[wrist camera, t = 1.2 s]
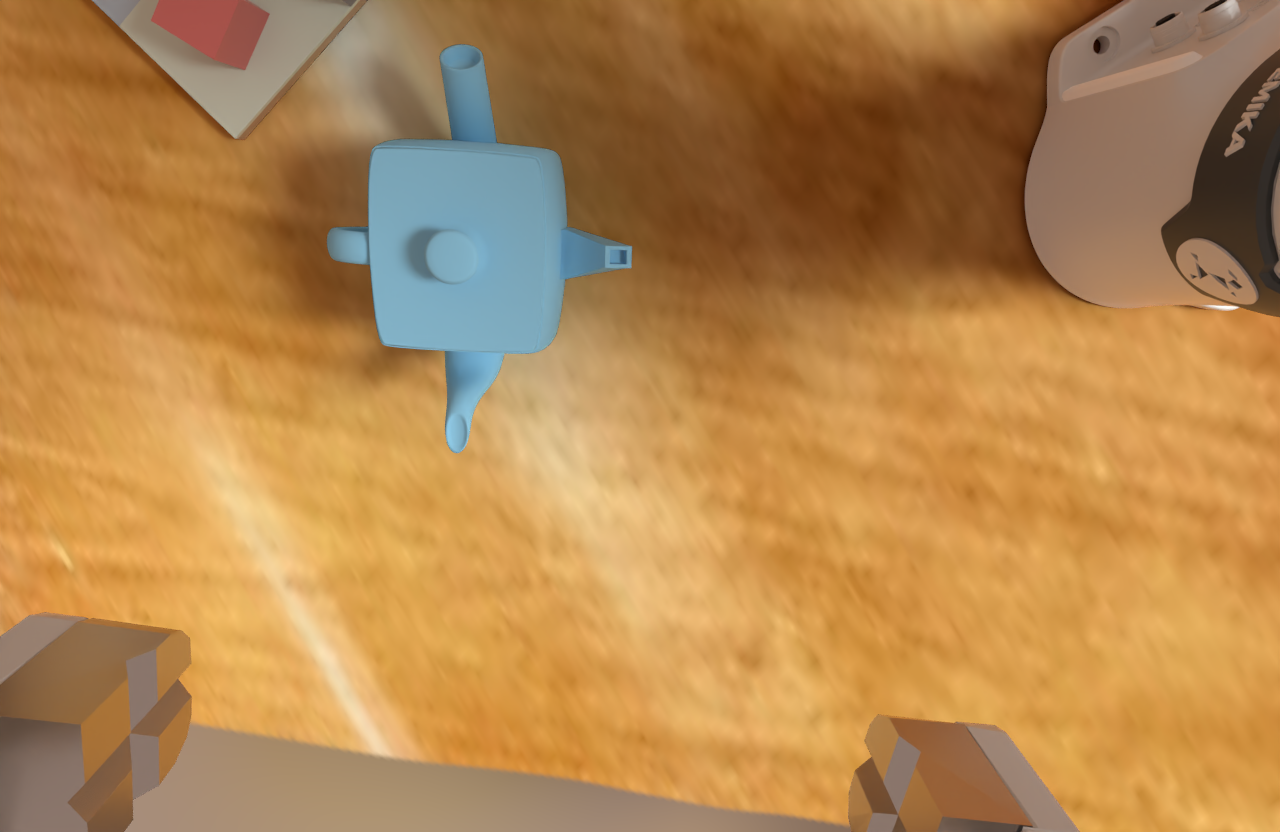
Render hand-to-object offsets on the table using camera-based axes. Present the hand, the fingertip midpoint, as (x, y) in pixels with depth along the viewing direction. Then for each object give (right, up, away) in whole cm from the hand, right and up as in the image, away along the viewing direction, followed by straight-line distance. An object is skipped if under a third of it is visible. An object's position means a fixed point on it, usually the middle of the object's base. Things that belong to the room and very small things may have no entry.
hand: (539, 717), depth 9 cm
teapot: (-6, +13, +32) cm, 35 cm away
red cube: (-19, +23, +27) cm, 40 cm away
